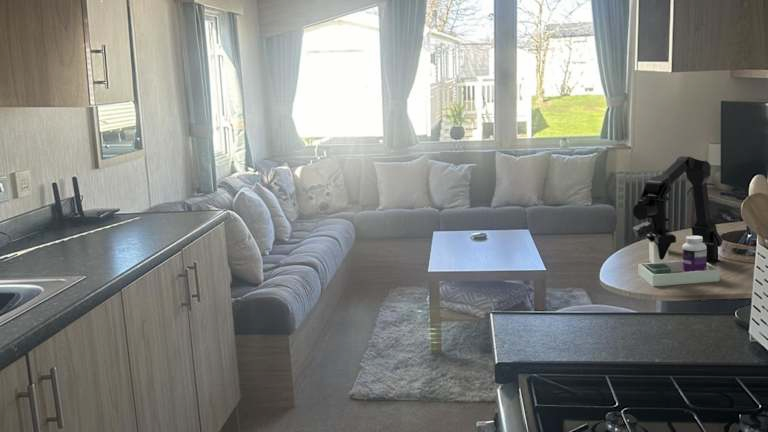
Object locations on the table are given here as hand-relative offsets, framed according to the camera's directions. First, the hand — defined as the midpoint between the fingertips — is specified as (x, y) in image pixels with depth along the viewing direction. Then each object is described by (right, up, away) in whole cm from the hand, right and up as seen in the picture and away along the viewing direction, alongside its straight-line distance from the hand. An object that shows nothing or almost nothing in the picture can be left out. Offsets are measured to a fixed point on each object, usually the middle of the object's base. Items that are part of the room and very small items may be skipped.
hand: (659, 257), depth 269 cm
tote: (+7, -7, +1) cm, 10 cm away
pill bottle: (+13, -7, +1) cm, 15 cm away
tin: (+1, -8, +2) cm, 8 cm away
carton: (0, -1, 0) cm, 2 cm away
